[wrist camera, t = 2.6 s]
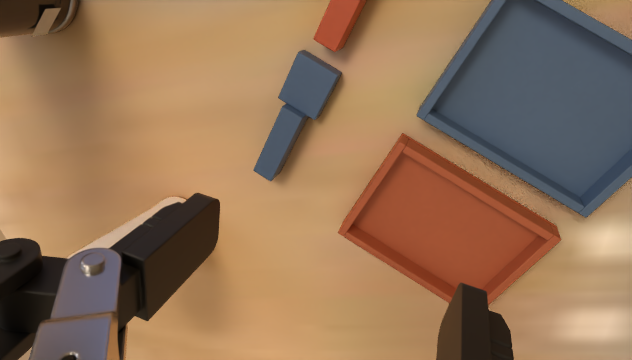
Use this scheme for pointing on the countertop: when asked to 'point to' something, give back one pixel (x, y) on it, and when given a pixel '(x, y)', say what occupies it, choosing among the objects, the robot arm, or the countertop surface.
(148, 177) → the countertop surface
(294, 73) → the slate spoon
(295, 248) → the countertop surface
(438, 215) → the terracotta tray
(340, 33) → the terracotta spoon
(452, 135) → the slate tray
